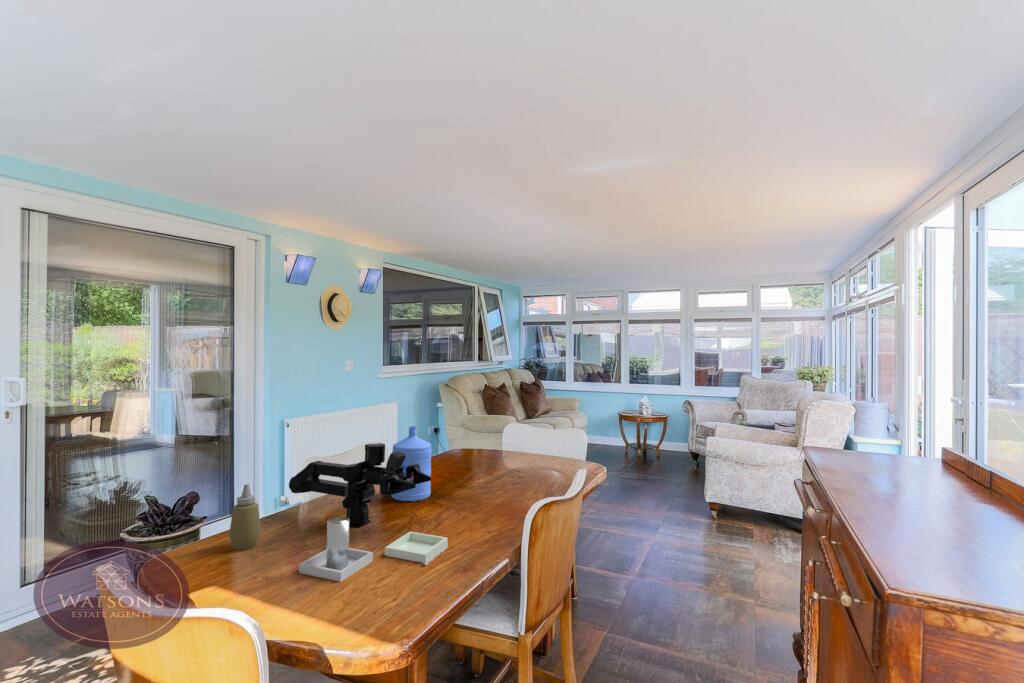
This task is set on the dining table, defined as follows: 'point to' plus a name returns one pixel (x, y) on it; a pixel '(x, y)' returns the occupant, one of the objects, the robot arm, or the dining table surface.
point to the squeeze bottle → (245, 521)
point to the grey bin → (318, 569)
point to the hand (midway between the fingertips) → (423, 482)
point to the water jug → (415, 454)
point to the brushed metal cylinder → (337, 543)
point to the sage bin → (417, 547)
